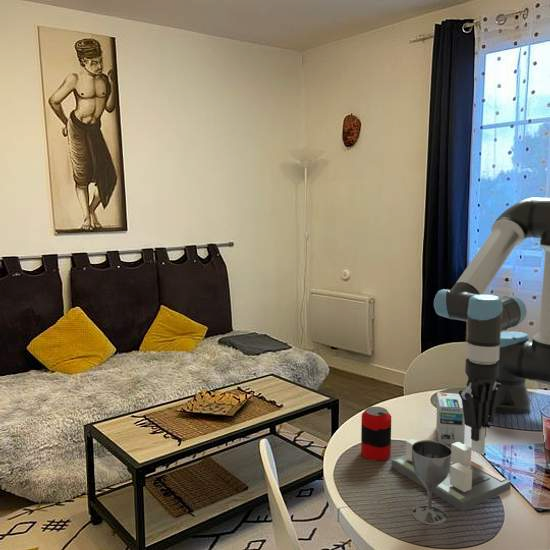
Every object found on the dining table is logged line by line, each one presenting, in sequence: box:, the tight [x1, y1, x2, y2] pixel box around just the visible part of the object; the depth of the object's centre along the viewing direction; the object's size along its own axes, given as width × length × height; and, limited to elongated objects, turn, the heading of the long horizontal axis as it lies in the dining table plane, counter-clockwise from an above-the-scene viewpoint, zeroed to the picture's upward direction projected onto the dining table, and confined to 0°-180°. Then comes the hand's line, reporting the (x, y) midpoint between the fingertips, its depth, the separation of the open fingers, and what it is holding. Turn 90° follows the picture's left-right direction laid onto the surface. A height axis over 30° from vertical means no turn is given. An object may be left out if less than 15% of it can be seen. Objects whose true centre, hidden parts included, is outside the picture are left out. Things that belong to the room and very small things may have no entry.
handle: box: [405, 438, 419, 461], centre depth 135 cm, size 2×4×4 cm, turn 31°
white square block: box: [450, 442, 472, 467], centre depth 133 cm, size 2×4×4 cm, turn 31°
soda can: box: [360, 406, 392, 462], centre depth 142 cm, size 8×8×12 cm
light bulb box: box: [435, 391, 466, 445], centre depth 152 cm, size 11×7×11 cm, turn 168°
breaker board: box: [391, 454, 511, 512], centre depth 131 cm, size 16×22×2 cm
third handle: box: [450, 463, 472, 492], centre depth 123 cm, size 2×4×4 cm, turn 31°
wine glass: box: [411, 439, 452, 526], centre depth 116 cm, size 8×8×15 cm
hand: (477, 451), depth 136 cm, fingers closed
